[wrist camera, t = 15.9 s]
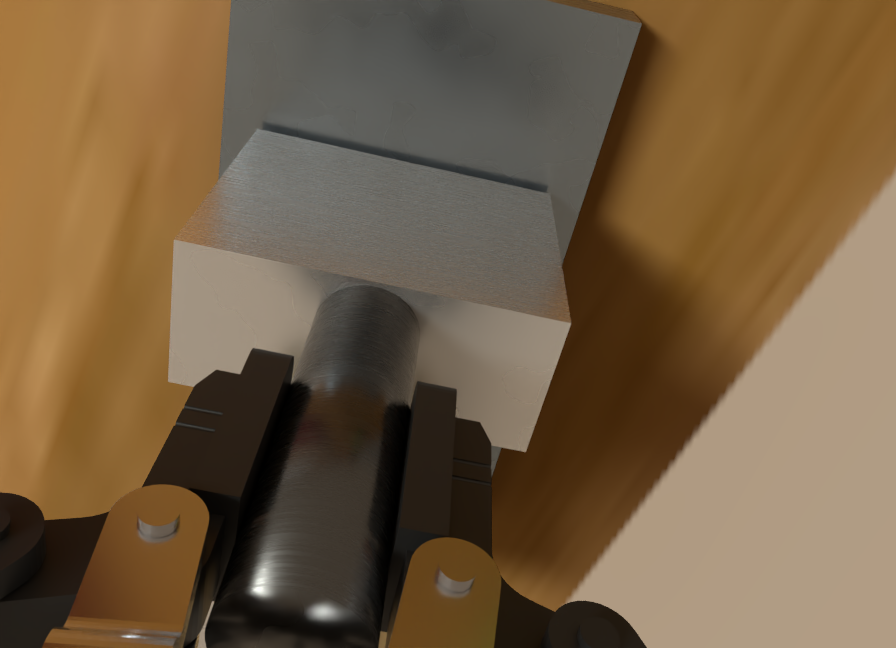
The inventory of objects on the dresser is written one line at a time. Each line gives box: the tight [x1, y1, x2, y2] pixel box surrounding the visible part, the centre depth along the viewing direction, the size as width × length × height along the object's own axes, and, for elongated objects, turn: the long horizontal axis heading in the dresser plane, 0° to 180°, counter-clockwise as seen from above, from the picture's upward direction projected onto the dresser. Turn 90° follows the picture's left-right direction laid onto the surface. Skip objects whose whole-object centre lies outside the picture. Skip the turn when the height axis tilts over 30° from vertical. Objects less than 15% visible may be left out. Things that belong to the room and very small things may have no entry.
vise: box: [198, 0, 642, 648], centre depth 22 cm, size 18×10×8 cm, turn 168°
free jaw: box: [168, 129, 571, 648], centre depth 17 cm, size 4×8×14 cm, turn 78°
